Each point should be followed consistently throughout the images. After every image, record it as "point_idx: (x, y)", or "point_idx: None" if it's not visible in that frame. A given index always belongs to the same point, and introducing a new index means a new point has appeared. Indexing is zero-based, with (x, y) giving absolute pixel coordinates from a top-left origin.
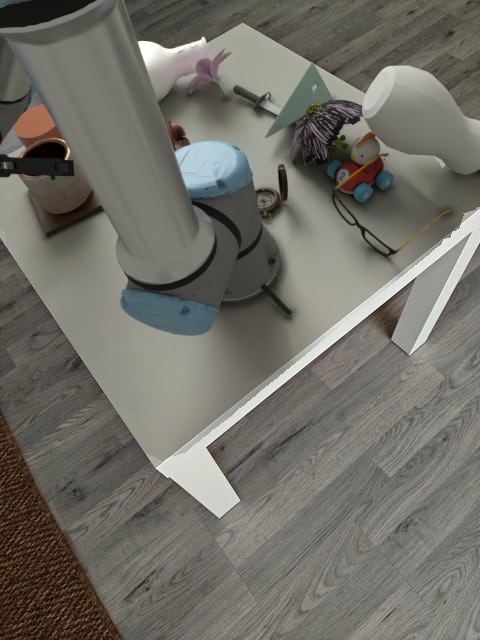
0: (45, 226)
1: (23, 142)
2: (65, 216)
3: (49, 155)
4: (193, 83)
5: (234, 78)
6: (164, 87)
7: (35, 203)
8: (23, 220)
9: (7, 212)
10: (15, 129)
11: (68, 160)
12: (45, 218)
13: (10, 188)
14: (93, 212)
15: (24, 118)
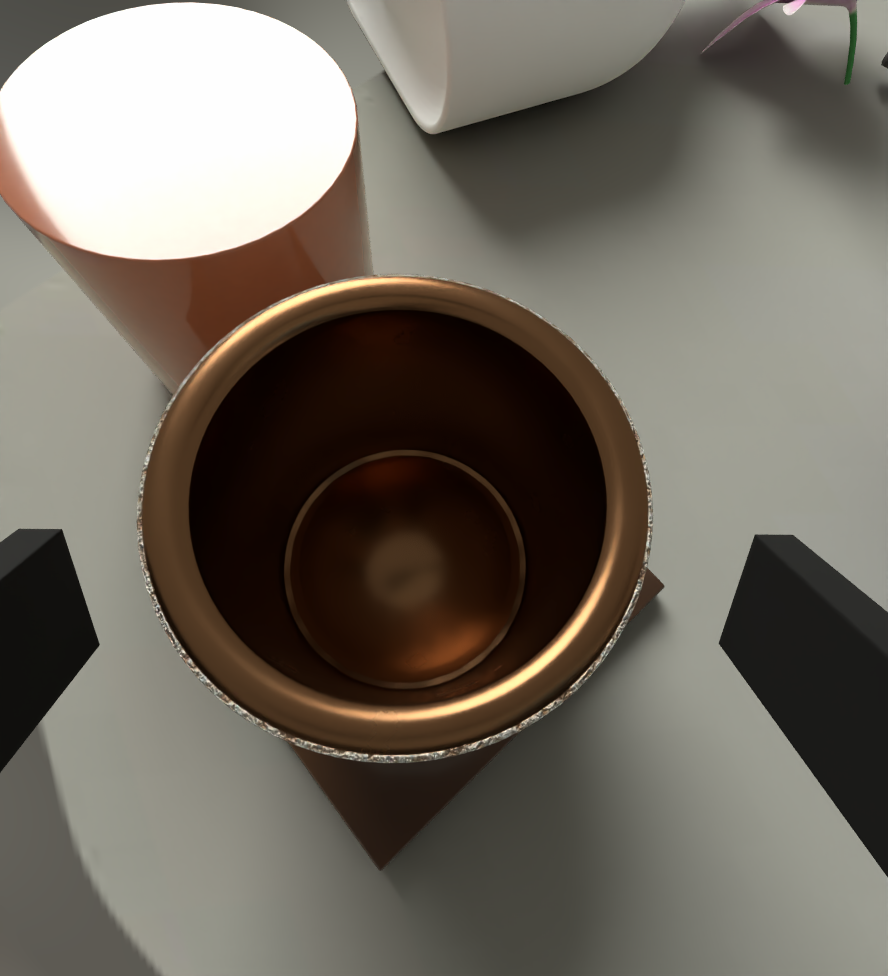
0: (359, 811)
1: (98, 285)
2: None
3: (335, 386)
4: (796, 1)
5: (818, 13)
6: (681, 7)
7: None
8: (173, 742)
9: None
10: (8, 181)
11: (841, 582)
12: None
13: (17, 513)
14: None
15: (58, 96)
